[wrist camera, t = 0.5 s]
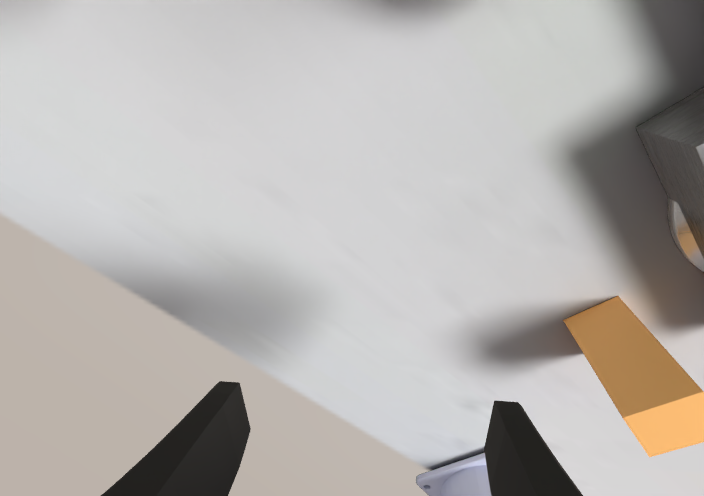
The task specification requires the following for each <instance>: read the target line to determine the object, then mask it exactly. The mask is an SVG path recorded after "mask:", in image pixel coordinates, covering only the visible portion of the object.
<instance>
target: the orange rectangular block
mask: <svg viewBox="0 0 704 496" xmlns="http://www.w3.org/2000/svg"><path fill="white" fill-rule="evenodd" d="M563 321H564V322H565V324H566V326H567V327H568V329H569V330H570V332H571V334H572V335H573V337H574V339H575V340H576V342H577V344H578V345H579V347H580V349H581V350H582V352H583V353H584V355H585V357H586V358H587V360H588V362H589V363H590V365H591V367H592V368H593V370H594V371H595V373H596V375H597V376H598V378H599V380H600V381H601V383H602V385H603V386H604V388H605V389H606V391H607V393H608V394H609V396H610V398H611V399H612V401H613V403H614V404H615V406H616V408H617V409H618V411H619V412H620V414H621V416H622V417H623V419H624V420H625V422H626V423H627V425H628V426H629V428H630V429H631V431H632V432H633V434H634V435H635V436H636V438H637V439H638V441H639V442H640V444H641V445H642V447H643V448H644V450H645V451H646V453H647V454H648V456H649V457H652V456H655V455H659V454H662V453H666V452H670V451H673V450H677V449H680V448H684V447H687V446H691V445H694V444H698V443H702V442H704V392H703V391H702V389H701V388H700V387H699V386H698V385H697V384H696V383H695V382H694V381H693V379H692V378H691V377H690V376H689V375H688V374H687V373H686V372H685V370H684V369H683V368H682V367H681V366H680V365H679V364H678V363H677V362H676V360H675V359H674V358H673V357H672V356H671V355H670V354H669V353H668V351H667V350H666V349H665V348H664V347H663V346H662V345H661V344H660V342H659V341H658V340H657V339H656V338H655V337H654V336H653V335H652V334H651V332H650V331H649V330H648V329H647V328H646V327H645V326H644V325H643V323H642V322H641V321H640V320H639V319H638V318H637V317H636V316H635V315H634V313H633V312H632V311H631V310H630V309H629V308H628V307H627V306H626V304H625V303H624V302H623V301H622V300H621V299H620V298H619V297H618V296H616V297H614V298H612V299H610V300H607V301H605V302H603V303H601V304H598V305H596V306H594V307H592V308H589V309H587V310H585V311H583V312H580V313H578V314H576V315H574V316H571V317H569V318H567V319H565V320H563Z"/></svg>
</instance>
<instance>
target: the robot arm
mask: <svg viewBox="0 0 704 496" xmlns="http://www.w3.org/2000/svg"><path fill="white" fill-rule="evenodd" d="M249 433H250V425H249V421H248V417H247V412H246V408H245V404H244V400H243V395H242V392H241V387H240V383H236V382H222V381H221V382H219V383H217V384H216V385H215V386H214V388H213V389H211V390H210V392H209V393H208V394H207V395H206V396H205V397H204V398H203V399H202V400H201V401H200V402H199V403H198V404H197V405H196V406H195V407H194V408H193V409H192V410H191V411H190V412H189V413H188V414H187V415H186V416H185V417H184V419H182V420H181V422H180V423H179V424H178V425H177V426H175V427H174V429H172V430H171V431H170V433H168V434H167V435H166V437H164V438H163V440H161V441H160V442H159V443H158V444H157V445H156V446H155V447H154V448H153V449H152V450H151V451H150V452H149V453H148V454H147V455H146V456H145V457H144V458H142V460H140V461H139V462H138V463H137V464H136V465H135V466H134V467H133V468H132V469H131V470H129V471H128V472H127V473H126V474H125V475H124V476H123V477H122V478H121V479H120V480H119V481H117V482H116V483H115V484H114V485H113V486H112V487H110V489H108V490H107V491H106V492H105V493H104V494H102V495H101V496H228V494H229V491H230V489H231V487H232V484H233V482H234V479H235V477H236V474H237V471H238V469H239V467H240V464H241V460H242V457H243V454H244V450H245V447H246V443H247V440H248V436H249ZM484 451H485V453H482V454H479V455H476V456H473V457H470V458H467V459H464V460H461V461H458V462H455V463H452V464H449V465H446V466H444V467H441V468H438V469H435V470H432V471H429V472H426V473H423V474H420V475H418V476H417V477H416V483H417V485H418V486H419V487H420V488H421V489H423V490H424V491H425V492H426V493H427V494H428V495H429V496H583V495H582V494H581V492H580V491H579V489H578V488H577V487H576V485H575V484H574V483H573V481H572V480H571V479H570V477H569V476H568V474H567V473H566V472H565V470H564V469H563V468H562V466H561V465H560V463H559V462H558V460H557V459H556V458H555V456H554V455H553V453H552V452H551V450H550V449H549V447H548V446H547V444H546V443H545V442H544V440H543V439H542V437H541V436H540V434H539V433H538V431H537V430H536V428H535V426H534V425H533V423H532V422H531V420H530V419H529V417H528V416H527V414H526V412H525V411H524V409H523V408H522V406H521V405H520V404H519V403H518V402H505V401H494V405H493V410H492V414H491V419H490V424H489V429H488V434H487V438H486V443H485V448H484Z"/></svg>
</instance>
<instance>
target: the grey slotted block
mask: <svg viewBox="0 0 704 496" xmlns="http://www.w3.org/2000/svg"><path fill="white" fill-rule="evenodd" d="M636 130H637V132H638V134H639V136H640V138H641V140H642V143H643V145H644V147H645V149H646V151H647V153H648V155H649V157H650V160H651V162H652V164H653V166H654V168H655V170H656V172H657V174H658V177H659V179H660V181H661V183H662V185H663V187H664V189H665V191H666V194H667V196H668V221H669V227H670V231H671V234H672V236H673V239H674V242H675V243H676V245H677V247H678V248H679V250H680V251H681V253H682V254H683V255H684V256H685V257H686V258H687V259H688V260H689V261H690V262H691V263H692V264H694V265H695V266H696V267H698V268H699V269H700V270H702V271H703V272H704V87H703V88H701V89H700V90H698V91H696V92H695V93H693V94H691V95H690V96H688V97H686V98H685V99H683V100H681V101H679V102H678V103H676V104H674V105H673V106H671V107H669V108H668V109H666V110H664V111H663V112H661V113H659V114H658V115H656V116H654V117H653V118H651V119H649V120H648V121H646V122H644V123H643V124H641V125H639V126H637V127H636Z"/></svg>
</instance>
